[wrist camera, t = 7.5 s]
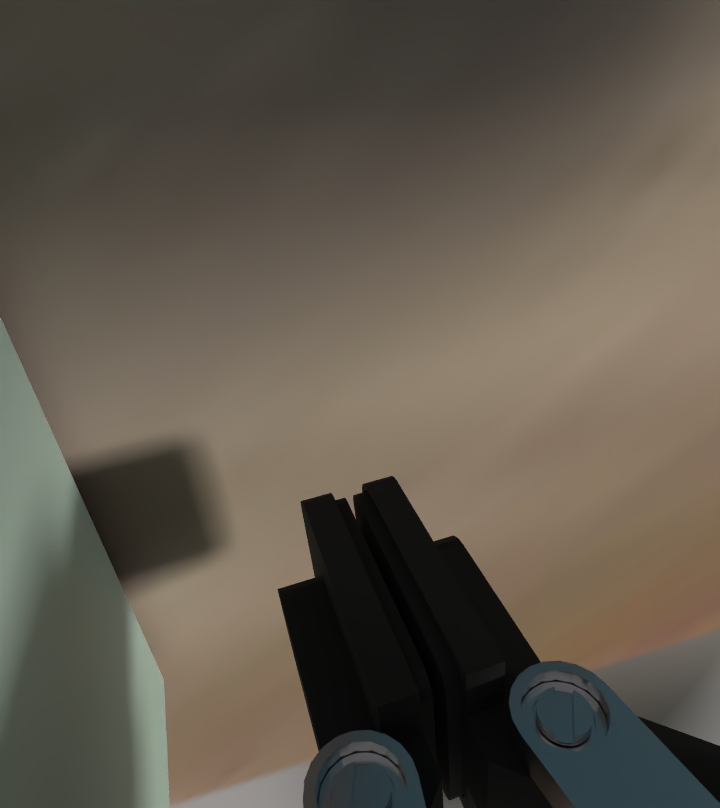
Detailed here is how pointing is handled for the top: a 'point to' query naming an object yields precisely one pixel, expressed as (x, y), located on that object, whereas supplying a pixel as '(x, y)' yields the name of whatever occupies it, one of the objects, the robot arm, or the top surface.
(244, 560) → the top surface
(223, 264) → the top surface
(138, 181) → the top surface
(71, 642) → the tray
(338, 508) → the robot arm
